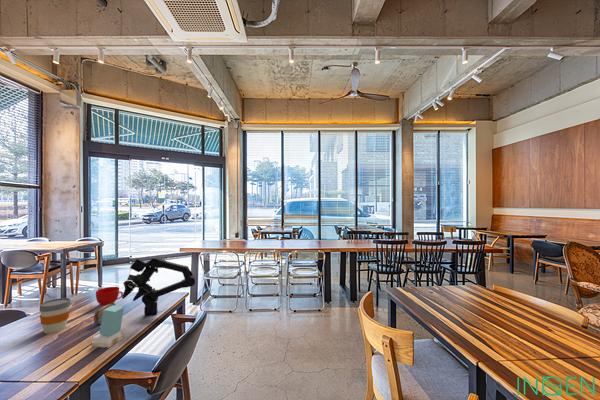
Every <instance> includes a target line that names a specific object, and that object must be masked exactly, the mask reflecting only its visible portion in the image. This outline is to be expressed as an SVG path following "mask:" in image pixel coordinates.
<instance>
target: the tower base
mask: <svg viewBox="0 0 600 400" xmlns="http://www.w3.org/2000/svg"><path fill="white" fill-rule="evenodd" d="M123 339H124V334H123V333H121V335H119V336H118V337H117V338H115V339H114V340H112V341H111V342H109V343H93V341H92V342H91V347H92V348H93V347H94V348H105V347H107V348H111V347H112V346H114V345H115V344H117V343H118V342H119V341H121V340H123ZM107 348H106V349H107Z"/></svg>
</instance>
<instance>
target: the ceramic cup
mask: <svg viewBox="0 0 600 400" xmlns="http://www.w3.org/2000/svg"><path fill="white" fill-rule="evenodd" d="M119 293H120V296H119ZM123 293H124V291H120V287H118V286H108V287H103V288H100V289H97V290H96V291H95V298H96V302H97V303H98V304H99V306H102V307H104V306H106V305H108V304H115V302H116V301H117V300H120V299H122V296H123Z"/></svg>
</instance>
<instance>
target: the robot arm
mask: <svg viewBox="0 0 600 400" xmlns="http://www.w3.org/2000/svg"><path fill="white" fill-rule="evenodd" d="M129 269H131V270H133V271H135V272H137V273H138V274H135V275H134V274H129V275H128V277H127V279H126V280H124V282H123V283H122V284H123V287H124V291H123V296H122V297H121V299H122V300H124V299H126V297H128V296H129V295H130V294H131V293H132V292H133V291H134V289H135V288H138V289H137V290H138V291H137V292H136V294H135V295H134V297H133V299H132V301H133V302H136V301H137V300H138V299H140V298H141V302H142V303H143V304H144V317H148V316H149V317H150V316H155V315H157V314H158V311H159V310H158V300H159V297H162V296H164V295H167V294H169V293H172V292H174V291H177V290H180V289H184V288H191V287H193V286H194V285H195V284H196V281H197V277H196V276H195V275H194V274H193V272H192V271H191V269H190V268H189V266H188V265H183V264H179V263H176V262H171V261H168V260H166V259H164V258H162V257H160V256H154V257H152V258H151V259H150V260H148V261H146V262H145V261H143V260H141V259H140V258H137V259H135V261H134V262H133V263H131V265H130V267H129ZM159 269H167V270H171V271H175V272H179V273H182V275H183V278H184V279H182V280H180V281H178V282H175V283H172V284H170V285H168V286H165V287H161V288H159V289H156V288H155V287H152V286H151V285H150V284H149V283H147V282H150V281H151V277H152V276H153V274H154V273H156V274H158V273H159ZM140 272H141V273H140ZM139 273H140V274H139Z"/></svg>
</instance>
